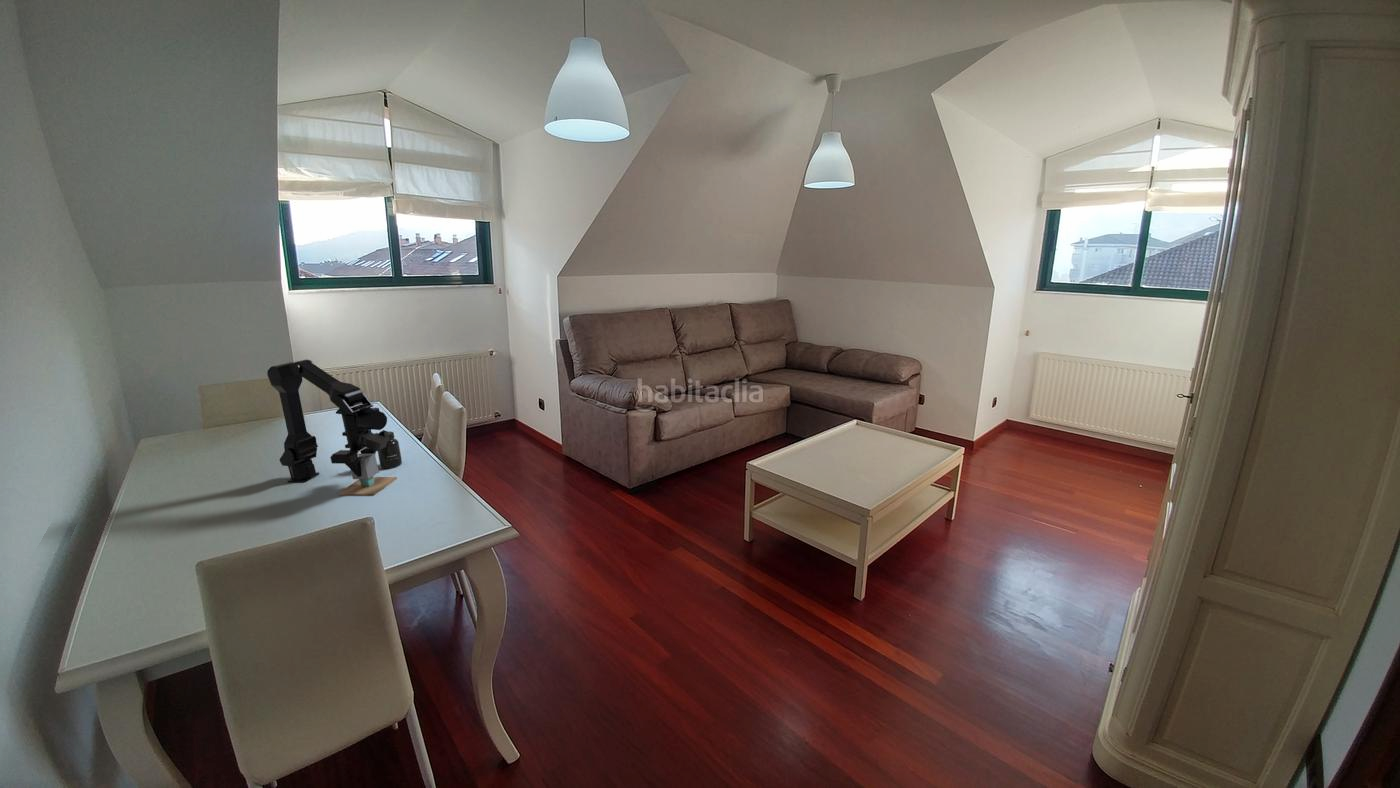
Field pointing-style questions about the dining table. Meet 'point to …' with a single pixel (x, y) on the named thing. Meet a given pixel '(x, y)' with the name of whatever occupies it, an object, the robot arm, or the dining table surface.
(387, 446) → the supplement bottle
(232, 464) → the dining table surface
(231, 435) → the dining table surface
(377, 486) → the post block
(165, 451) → the dining table surface
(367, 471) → the grey rectangular block
